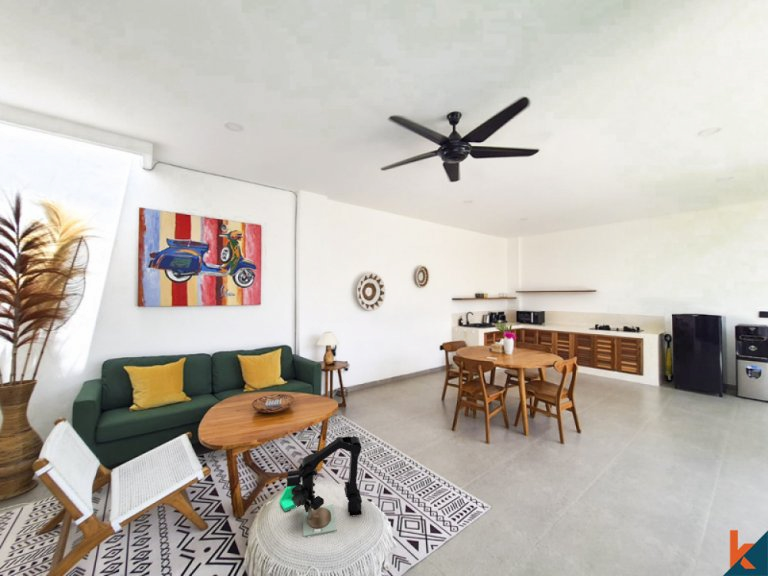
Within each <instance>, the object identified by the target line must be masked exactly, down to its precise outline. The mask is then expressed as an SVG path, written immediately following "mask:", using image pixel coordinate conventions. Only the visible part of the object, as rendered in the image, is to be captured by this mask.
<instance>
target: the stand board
mask: <svg viewBox="0 0 768 576" xmlns="http://www.w3.org/2000/svg"><path fill="white" fill-rule="evenodd" d="M320 507H323V508H326V509H328V510H329V511H330V513H331V520H330V522H329V524H328V525H326V526H325V527H323V528H319V529H315V528H312V527H310V526H309V525H308V523H307V516H308V512H306V511H305V508H303V509H302V538H303V537H305V538H309V537H308V536H310V537H315V536H316V537H317V536H320V534H321V535H325V533H326V534H330V532H332V533H336V532H335V531H338V530H337V523H336V516H335V508H334V504H326V505H322V506H320ZM312 510H313V509H312Z"/></svg>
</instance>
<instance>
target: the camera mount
mask: <svg viewBox="0 0 768 576" xmlns="http://www.w3.org/2000/svg"><path fill="white" fill-rule="evenodd" d="M294 487H295V486H291V487H287V486H285V489H284V491H283V493H282V495H281V497H280V499H279V504H280V506H281V507H282V509H283V511H285V512H287V511H289V510H291V509H292V510H294V509H293V508H295V507H296V505H295V504H293V501H292V497H293V496H294V495H292V489H293V488H294ZM295 509H296V508H295Z"/></svg>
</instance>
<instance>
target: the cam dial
mask: <svg viewBox="0 0 768 576" xmlns="http://www.w3.org/2000/svg"><path fill="white" fill-rule="evenodd" d="M330 520H331V513H330V511H329V510H328V509H326V508H323V507H319V508H318V509H317V510H314V509H313V510H312V508H311V507H310V508H308V516H307V523H308V525H309V526H310V527H312V528H315V529H319V528H323V527H325V526H326V525H328V524H329V522H330Z"/></svg>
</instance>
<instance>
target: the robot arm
mask: <svg viewBox="0 0 768 576" xmlns="http://www.w3.org/2000/svg"><path fill="white" fill-rule="evenodd" d="M340 449H342V450H344V451H346V452H349V454H350V457H349V470H348V480H347V482H346V481H345V482H344V495H345V497H346V499H347V501H348V502H347V512H348V515H349V517H353V515H354V516H359V515H362V513H363V511H362V502H363V499H362V496H361V493H360V489H359V488H358V485H357V476H358V462H359V456H360V454H361V451H362V444H361V441H360V438H359V437H358V436H355V435H353V436H350V435H349V436H343V437H342V436H338V437H336V439H334V440H333V441H331V442H330V443H329V444H327V445H326V446H324V447H323V448H321V449H320V450H318V451H317V452H315V453H310V454H309V455H306V456H305V457H303V458H302V461H301V462H302V463H301V464H300V465H299V466H298V470H292V471H287V477H286V487H291V486H295V487H294V488H293V489H292V495H294V496H293V497H292V501H293V504H295V505H296V506H297V508H299V507H301V506H303V507H304V508H303V509H305V511H306V512H308V508H310V507H311V508H312V509H314V510H317V509H318V508H319V507H320V506H324V504H325V499H324V498H323V497H322V496H320V495H317V496H316V495H315V493H316V491H315V490H314V487H315V486H316V483H315V482H314V479H315V478H314V477H315V476H318V469H317V467H318V466H319V464H320V463H321V462H322V461H324V460H326V459H327V458H328V457H330V456H331V455H333V454H334V453H335V452H337V451H338V450H340Z"/></svg>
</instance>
